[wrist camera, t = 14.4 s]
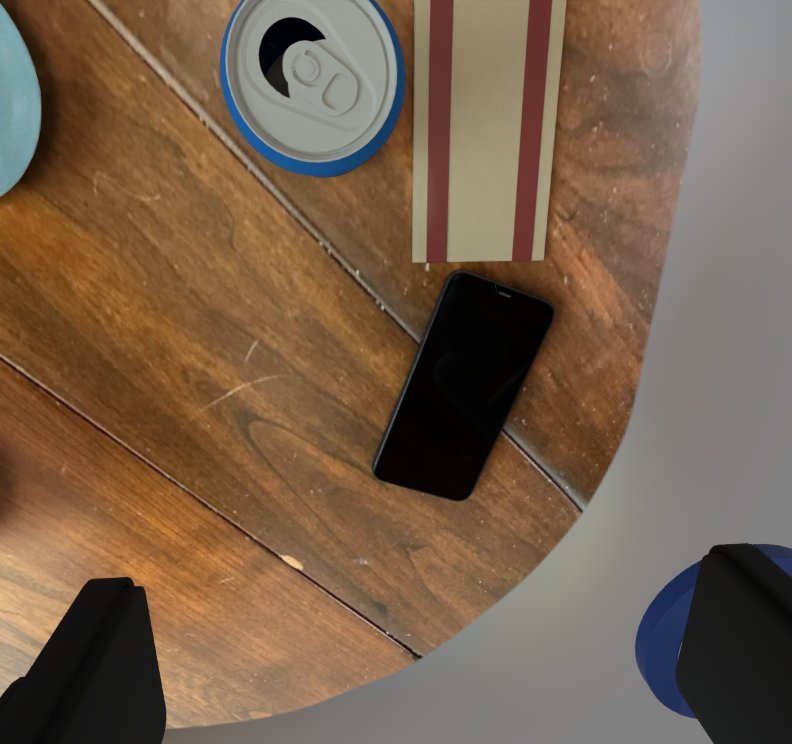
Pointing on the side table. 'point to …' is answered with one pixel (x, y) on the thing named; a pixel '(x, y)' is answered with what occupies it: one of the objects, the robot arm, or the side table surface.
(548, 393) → the side table surface
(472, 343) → the smartphone
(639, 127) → the side table surface
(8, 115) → the saucer
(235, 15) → the beverage can
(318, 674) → the side table surface
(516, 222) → the tea towel
